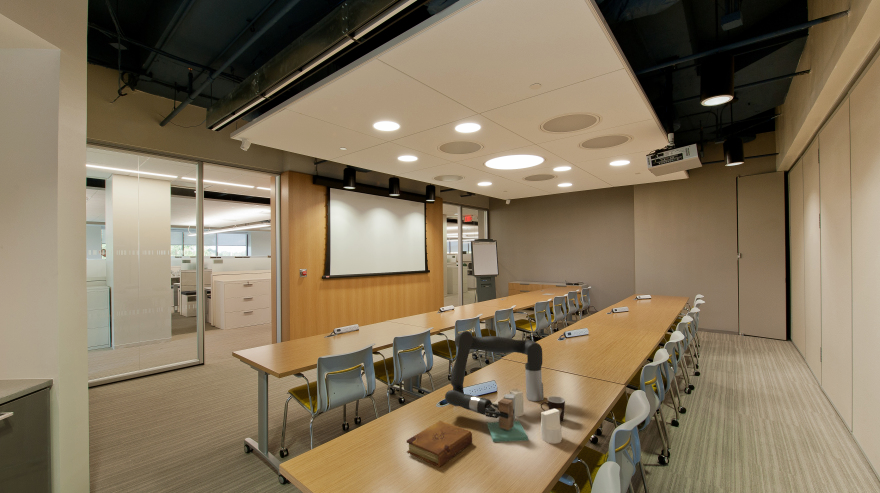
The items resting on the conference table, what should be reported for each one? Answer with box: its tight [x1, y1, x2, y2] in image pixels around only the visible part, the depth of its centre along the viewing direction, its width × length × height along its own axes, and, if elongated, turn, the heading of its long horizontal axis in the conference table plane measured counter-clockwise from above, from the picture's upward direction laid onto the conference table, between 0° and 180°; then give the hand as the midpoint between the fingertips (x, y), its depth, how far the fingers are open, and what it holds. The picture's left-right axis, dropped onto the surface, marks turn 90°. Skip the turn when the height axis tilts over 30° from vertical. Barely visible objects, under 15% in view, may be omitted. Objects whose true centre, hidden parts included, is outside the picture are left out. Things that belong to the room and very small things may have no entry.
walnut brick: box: [497, 397, 514, 430], centre depth 166 cm, size 5×5×12 cm
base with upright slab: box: [540, 408, 563, 444], centre depth 159 cm, size 9×9×12 cm
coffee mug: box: [540, 395, 566, 423], centre depth 179 cm, size 12×9×10 cm
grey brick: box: [503, 393, 516, 421], centre depth 179 cm, size 5×5×12 cm
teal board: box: [486, 420, 529, 443], centre depth 166 cm, size 16×16×2 cm
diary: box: [406, 420, 473, 468], centre depth 154 cm, size 23×19×6 cm
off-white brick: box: [509, 388, 525, 418], centre depth 185 cm, size 5×5×12 cm
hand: (510, 413), depth 164 cm, fingers closed on walnut brick, 5 cm apart
